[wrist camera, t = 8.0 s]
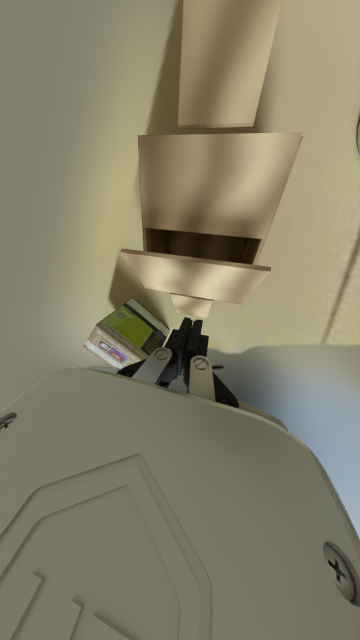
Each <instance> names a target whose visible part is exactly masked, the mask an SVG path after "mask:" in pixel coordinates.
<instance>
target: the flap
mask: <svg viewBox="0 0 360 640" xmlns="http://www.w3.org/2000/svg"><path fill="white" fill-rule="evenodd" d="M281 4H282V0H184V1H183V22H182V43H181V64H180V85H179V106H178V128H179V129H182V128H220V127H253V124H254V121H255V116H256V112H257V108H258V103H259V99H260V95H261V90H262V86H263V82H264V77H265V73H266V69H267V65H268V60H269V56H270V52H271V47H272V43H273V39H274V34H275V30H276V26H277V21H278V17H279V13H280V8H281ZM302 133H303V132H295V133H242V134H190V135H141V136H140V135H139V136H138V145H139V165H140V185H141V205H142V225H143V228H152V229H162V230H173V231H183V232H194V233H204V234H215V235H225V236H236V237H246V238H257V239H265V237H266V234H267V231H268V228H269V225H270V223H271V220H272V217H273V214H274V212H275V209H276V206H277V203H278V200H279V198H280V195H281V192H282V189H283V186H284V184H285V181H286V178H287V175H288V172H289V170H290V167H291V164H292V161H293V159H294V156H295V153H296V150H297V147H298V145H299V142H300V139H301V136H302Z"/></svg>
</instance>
